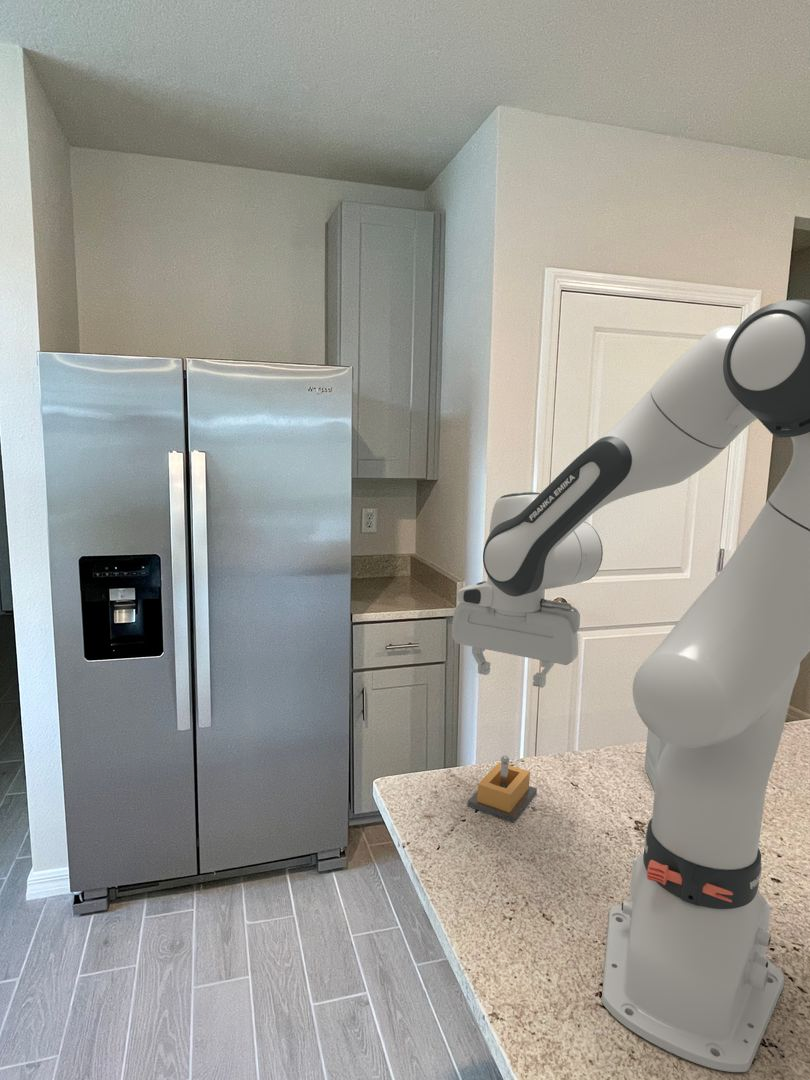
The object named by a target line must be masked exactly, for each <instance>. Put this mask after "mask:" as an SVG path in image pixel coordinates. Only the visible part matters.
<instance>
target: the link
mask: <svg viewBox="0 0 810 1080" xmlns="http://www.w3.org/2000/svg"><path fill="white" fill-rule="evenodd" d="M500 774H501V761H499V762H497V763H496V764H495V765H494V767H492V769H491V770H490V771H489V772H488V773H486V775H485V776H484V777H483V778H482V779H481V780H480V781H479V782H478V784H477V791H478V793H477V801H478V802H480V803H483V804H486V805H489V806H492V807H495V808H498V809H501V810H504V811H507V812H510V811H511V810H512V809H513V808H514V806H515V805H516V804H517V803H518V801H519V800H520V799H521V798H522V796H523V795H524V794H525V792H526V791H527V790H528V789H529V786H530V778H531V777H530V776H531V771H529V770H526V769H524V768H520V767H517V766H513V765H510V764H509V765H508V782H507V786H508V787H507V788H503V787H500Z"/></svg>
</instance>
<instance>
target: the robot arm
mask: <svg viewBox="0 0 810 1080" xmlns="http://www.w3.org/2000/svg"><path fill="white" fill-rule="evenodd" d="M756 420H759V422H760V423H761V424H762V425H763V426H764V427H765V429H767V431H768V432H769V433H770V434H771V435H773V436H774V437H776V438H790V439H791V442H792V447H793V449H792V450H793V453H792V458H791V459H790V460H791V461H790V464H789V466H788V468H787V469H786V471H785V473H784V475H783V476H782V478H781V479H780V480H779V482H778V483H777V486H776V488H774V490H773V492H772V493H771V494H770V496H769V497H768V499H767V501H766V502H765V504H764V506H763V507H762V509H760V511H759V512H758V514H757V516H756V518H755V520H754V521H753V523H752V524H751V526H750V527H749V529H747V532H746V534H744V537H742V540H741V541H740V543H739V545H738V546H737V547H736V549H735V551H734V552H733V554H732V555H731V557H730V558H729V560H727V562H726V564H725V565H724V566H723V568H722V569H721V571H720V572H719V573H718V574H717V575H716V577H715V578H714V579H713V580H712V581H711V582H710V583H709V584H708V586H707V587H706V588H705V589H704V590H703V591H702V592H701V594H699V596H698V597H697V598H696V599H695V601H694V602H693V603H692V604H691V605H690V607H689V608H688V609H687V610H686V612H684V614H682V617H681V618H680V619H679V620H678V621H677V622H676V624H675V625H674V627H673V628H672V629H671V630H670V632H669V633H668V634H667V635H666V637H664V640H662V642H661V643H660V644H659V645H658V647H657V648H656V649H655V650H654V651H653V652H652V653H651V654H650V655H649V656H648V657H647V658H646V660H644V662H642V664H641V665H640V666H639V668H638V669H637V671H636V673H635V675H634V678H633V682H632V699H633V703H634V706H635V709H636V712H637V714H638V716H639V717H640V719H641V721H642V722H643V724H644V725H645V726H646V728H647V730H648V729H649V730H650V731H651V732H652V733H654V734H655V735H656V736H657V737H659V738H660V739H662V740H663V741H665V742H667V745H666V747H665V748H664V750H663V752H662V754H661V756H660V758H659V761H658V765H657V773H656V783H655V790H654V795H653V805H652V814H651V815H652V816H651V818H650V820H649V821H648V823H647V828H646V832H645V835H644V842H643V844H644V845H643V846H644V847H643V848H644V850H643V853H642V854H640V855H638V856H635V857H633V858H632V866H631V867H632V869H631V879H630V890H629V898H628V899H629V901H627V900H623V902H622V903H621V904H616V905H613V906H611V907H610V909H609V913H608V919H607V930H606V941H605V954H604V955H605V956H604V967H603V978H602V979H603V980H602V989H601V991H602V992H601V994H602V995H601V1003H602V1005H603V1006H604V1007H605V1009H606V1010H607V1011H608V1012H609V1013H610V1014H611V1015H612V1016H613V1017H614V1018H615V1019H616V1020H618V1022H619V1023H621V1024H622V1025H623V1026H624V1027H626V1028H627V1029H629V1030H630V1031H631V1032H633V1033H635V1035H638V1036H639V1037H642V1038H643V1039H644V1040H646V1041H648V1042H650V1043H652V1044H653V1045H655V1046H656V1047H659V1048H661V1049H663V1050H665V1051H666V1052H669V1053H671V1054H673V1055H675V1056H678V1057H680V1058H682V1059H684V1060H687V1061H689V1062H692V1063H694V1064H697V1065H700V1066H703V1067H706V1068H710V1069H713V1070H718V1071H723V1072H728V1073H729V1072H730V1073H745V1072H747V1071H749V1069H750V1068H751V1066H752V1063H753V1062H754V1059H755V1056H756V1054H757V1051H758V1049H759V1046H760V1044H761V1042H762V1040H763V1037H764V1035H765V1032H766V1030H767V1027H768V1025H769V1022H770V1020H771V1018H772V1015H773V1013H774V1011H775V1008H776V1005H777V1003H778V1000H779V998H780V996H781V993H782V991H783V988H784V985H785V984H784V983H785V981H784V979H785V978H784V974H783V972H782V971H781V969H780V968H778V966H777V965H775V964H774V963H773V962H772V961H770V960H769V959H768V958H767V956H766V955H767V949H768V948H769V947H770V945H771V939H772V935H771V934H770V933H769V929H770V918H771V909H772V908H771V907H772V906H771V905H770V904H769V903H768V901H767V899H766V898H765V897H764V896H763V895H762V893H761V892H760V890H759V885H760V879H761V876H762V868H763V867H762V853H761V852H762V851H761V850H760V848H759V846H760V845H759V844H760V837H761V836H760V835H761V830H762V823H763V822H762V821H763V814H764V808H765V807H764V806H765V799H766V794H767V793H766V792H767V788H768V784H769V780H770V776H771V772H772V768H773V766H774V762H775V759H776V756H777V752H778V749H779V746H780V743H781V742H780V741H781V739H782V737H783V736H782V735H783V731H784V728H785V723H786V720H787V716H788V712H789V708H790V704H791V703H790V702H791V698H792V694H793V690H794V687H795V686H796V685H795V684H796V682H797V679H798V677H799V673H800V666H801V662H802V661H803V659H805V657H806V656H807V655H808V654H809V653H810V299H785V300H781V301H776V302H773V303H770V304H767V305H765V306H763V307H761V308H758V309H757V310H756V311H754V312H752V313H751V314H750V315H749V316H748V317H746V318H745V319H744V320H743V321H742V322H741V323H740V324H726V325H720V326H718V327H716V328H714V329H712V330H710V331H709V332H708V333H707V334H705V335H704V336H703V337H702V338H701V339H699V340H698V341H697V342H695V343H694V344H693V345H692V346H691V347H689V349H687V351H685V352H684V353H683V354H682V355H681V356H680V357H679V358H678V359H677V360H676V361H675V362H674V363H672V365H670V367H668V369H667V370H666V371H664V373H663V374H662V375H661V376H660V377H659V378H658V379H657V380H656V382H655V383H654V384H652V387H650V388H649V390H648V391H647V392H646V393H645V394H644V395H643V397H641V398H640V400H639V401H638V402H637V403H636V404H635V405H634V406H633V407H632V409H631V410H629V411H628V412H627V413H626V414H625V415H624V416H623V417H622V418H621V419H620V420H619V421H618V422H617V423H616V424H615V425H614V426H613V427H611V428H610V430H608V431H607V432H606V433H605V434H604V435H602V436H601V437H600V438H598V439H597V440H596V441H595V442H593V444H592V445H590V446H589V447H587V449H585V450H584V451H583V452H582V453H580V454H579V455H578V456H577V457H576V458H575V459H573V461H572V462H571V463H569V465H567V467H565V469H563V470H562V471H561V472H560V473H559V474H558V475H557V477H555V479H554V480H552V481H551V482H550V483H549V485H547V487H545V489H544V490H542V491H541V492H535V491H529V492H527V491H525V492H519V493H518V492H517V493H509V494H505V495H502V496H500V497H499V498H497V499H496V500H495V503H494V505H493V508H492V513H491V517H490V526H489V533H488V534H489V535H488V537H487V539H486V541H485V544H484V547H483V551H482V552H483V553H482V562H483V567H484V570H485V573H486V575H487V580H483V581H481V582H476V583H473V584H470V585H466V586H464V587H463V588H460V589H459V590H458V592H457V600H458V602H459V603H458V604H457V605H456V606H455V608H454V612H453V617H452V624H451V638H452V639H453V640H454V643H456V644H458V645H461V646H467V647H468V646H469V647H471V653H472V656H473V658H474V660H475V662H476V664H477V673H478V675H484V676H488V675H489V674H490V673H491V665H492V664H491V662H489V661H487V660H486V657H485V655H484V652H485V651H486V650H488V651H493V652H498V653H502V654H508V655H513V656H518V657H523V658H527V659H528V658H529V659H533V660H538V661H540V667H541V668H543V669H542V671H540V672H536V673H535V674H534V675H533V676H532V680H533V682H532V685H533V687H536V688H542V689H543V688H544V687H545V686H546V683H547V675H548V674H549V672H551V670H552V669H553V667H554V665H555V664H558V665H562V666H568V665H570V664H571V663H573V662H574V661H575V660H576V659H577V657H578V655H579V654H578V653H579V638H578V630H580V625H581V615H580V614H581V613H580V612H579V610H578V609H577V608H575V607H574V606H572V604H571V603H569V602H560V601H559V602H558V601H555V600H551V599H544V598H545V590H548V589H549V590H550V589H554V588H555V589H556V588H561V587H566V586H570V585H571V586H572V585H578V584H581V583H583V582H587V581H588V580H590V579H591V580H592V578H594V577H595V575H596V574H597V573H598V571H600V570H599V569H600V568H601V565H602V562H603V555H604V554H603V552H604V551H603V550H604V549H603V544H602V540H601V537H600V535H599V533H598V532H597V530H596V529H595V528H594V527H593V526H592V525H591V524H589V523H588V522H586V521H587V519H589V517H591V516H592V515H593V514H594V513H596V512H597V511H599V509H601V508H603V507H605V506H606V505H609V504H611V503H613V502H615V501H617V500H620V499H623V498H626V497H628V496H632V495H635V494H639V493H644V492H647V491H652V490H657V489H661V488H665V487H669V486H673V485H677V484H680V483H682V482H683V481H685V480H688V479H689V478H690V477H691V476H693V475H695V474H697V472H699V471H700V470H702V469H703V468H705V467H706V466H707V465H709V464H710V463H711V462H712V461H713V460H715V458H716V457H718V456H719V455H720V454H721V453H722V452H723V451H724V450H725V449H726V448H727V447H728V446H729V445H730V444H731V443H732V442H733V441H734V440H735V439H736V438H737V437H738V436H739V435H740V434H741V433H742V432H743V431H744V430H745V429H746V428H747V427H749V425H750V424H752V423H754V422H755V421H756Z"/></svg>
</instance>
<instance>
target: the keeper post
mask: <svg viewBox="0 0 810 1080" xmlns="http://www.w3.org/2000/svg"><path fill="white" fill-rule="evenodd" d="M500 763H501V774H500V787H503V788H507V787H508V786H507V782H508V765H510V758H509V757H508V756H507V755H503V756H501V757H500ZM477 793H478V790H476V792H474V793H473V795H472V796H470V798H469V799H467V808H472V809H474V810H477V811H479V812H482V813H485V814H488V815H491V816H494V817H497V818H499V819H502V820H505V821H508V822H510V823H515V822H516V821H517V819H518V818H519V817H520V816H521V815H522V813H524V811H525V809H526V808H527V807H528V806H529V804H531V802H532V801H533V799H534V798H535V796H537V793H538V788H537V787H534V786H531V785H529V789H528V790H527V791H526V792H525V794H524V795H523V796H522V798H521V799H520V800H519V801H518V803H517V804H516V805H515V806H514V808H513V809H512V810H511V811H510V812H507V811H504V810H501V809H498V808H495V807H492V806H489V805H486V804H483V803H480V802H478V801H477Z"/></svg>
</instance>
